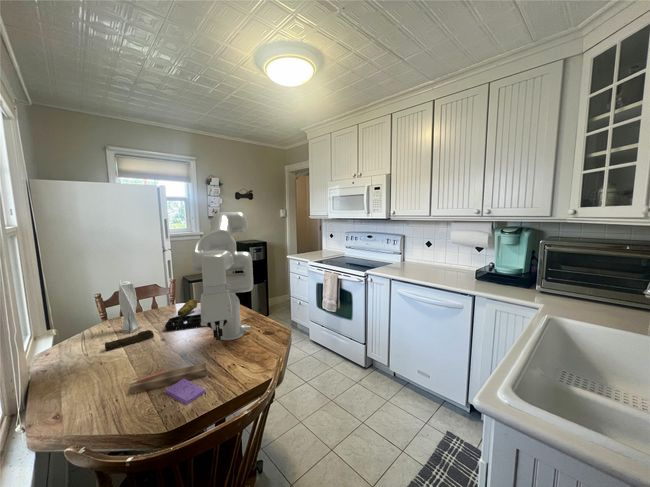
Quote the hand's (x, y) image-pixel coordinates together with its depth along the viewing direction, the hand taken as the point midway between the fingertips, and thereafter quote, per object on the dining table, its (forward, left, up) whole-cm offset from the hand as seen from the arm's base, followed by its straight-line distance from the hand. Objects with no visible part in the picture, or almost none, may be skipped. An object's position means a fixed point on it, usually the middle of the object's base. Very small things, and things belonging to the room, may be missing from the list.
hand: (218, 338), depth 96 cm
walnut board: (+17, -10, -17) cm, 26 cm away
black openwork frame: (+10, -63, -18) cm, 66 cm away
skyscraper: (+42, -70, -17) cm, 83 cm away
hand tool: (+38, -52, -18) cm, 67 cm away
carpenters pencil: (+23, -10, -15) cm, 29 cm away
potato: (+15, -82, -17) cm, 85 cm away
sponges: (+12, 0, -18) cm, 21 cm away
